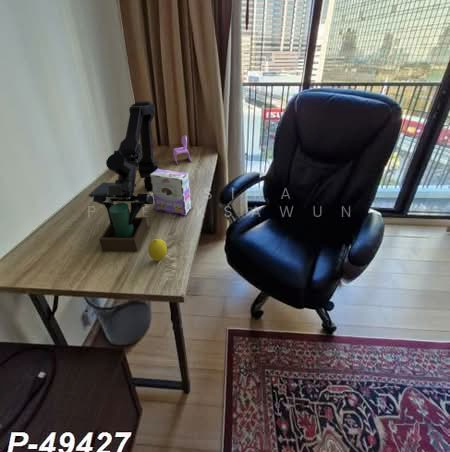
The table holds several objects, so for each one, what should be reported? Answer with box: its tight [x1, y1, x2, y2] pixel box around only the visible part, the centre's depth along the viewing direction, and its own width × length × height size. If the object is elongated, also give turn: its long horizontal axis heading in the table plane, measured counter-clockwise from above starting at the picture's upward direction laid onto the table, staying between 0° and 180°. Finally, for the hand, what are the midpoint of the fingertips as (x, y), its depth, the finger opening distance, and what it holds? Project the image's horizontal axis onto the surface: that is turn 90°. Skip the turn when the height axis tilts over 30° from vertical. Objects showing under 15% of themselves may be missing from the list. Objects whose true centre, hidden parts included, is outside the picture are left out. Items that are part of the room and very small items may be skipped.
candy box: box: [150, 168, 192, 216], centre depth 99 cm, size 14×6×16 cm, turn 71°
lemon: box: [147, 238, 168, 262], centre depth 77 cm, size 6×6×8 cm
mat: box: [89, 182, 115, 197], centre depth 116 cm, size 11×11×1 cm
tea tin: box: [109, 202, 135, 238], centre depth 84 cm, size 6×6×12 cm
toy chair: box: [172, 135, 193, 165], centre depth 140 cm, size 8×9×15 cm
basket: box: [98, 216, 149, 252], centre depth 86 cm, size 12×12×5 cm
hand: (120, 224), depth 83 cm, fingers closed on tea tin, 6 cm apart
